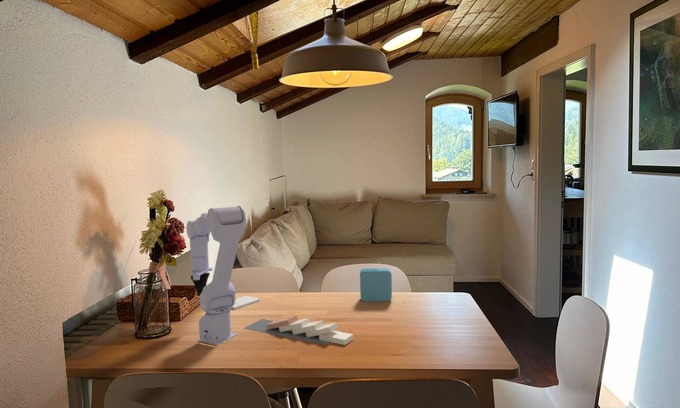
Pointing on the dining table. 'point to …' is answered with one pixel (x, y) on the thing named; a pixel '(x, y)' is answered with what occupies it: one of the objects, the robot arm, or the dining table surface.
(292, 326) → the domino
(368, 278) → the blue rounded slab
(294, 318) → the domino
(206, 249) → the robot arm
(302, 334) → the mat
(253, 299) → the external hard drive
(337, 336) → the domino
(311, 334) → the domino
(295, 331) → the domino
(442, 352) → the dining table surface
